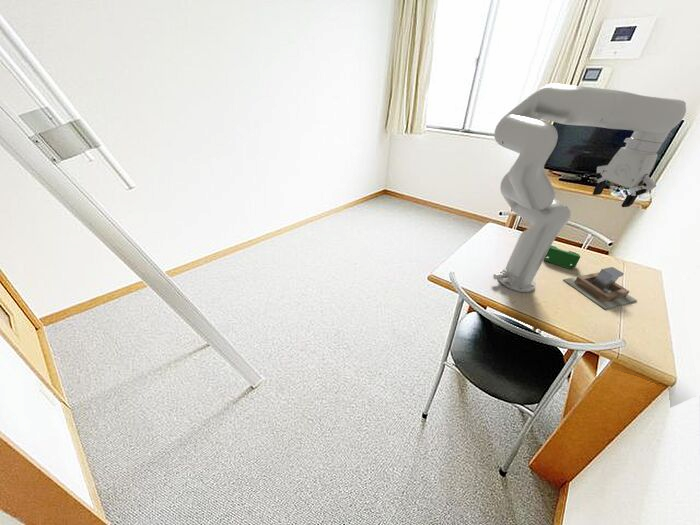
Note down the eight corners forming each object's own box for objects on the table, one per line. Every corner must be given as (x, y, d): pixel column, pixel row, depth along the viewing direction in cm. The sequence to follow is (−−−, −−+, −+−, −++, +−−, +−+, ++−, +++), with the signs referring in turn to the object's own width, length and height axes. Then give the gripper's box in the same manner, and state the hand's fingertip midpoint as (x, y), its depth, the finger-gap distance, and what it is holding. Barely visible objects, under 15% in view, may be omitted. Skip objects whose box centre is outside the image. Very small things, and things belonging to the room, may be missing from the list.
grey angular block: (600, 293, 106) (613, 275, 101) (589, 286, 109) (601, 269, 104) (610, 291, 108) (624, 273, 103) (600, 284, 111) (612, 266, 106)
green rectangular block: (562, 271, 125) (582, 256, 120) (563, 275, 120) (584, 260, 115) (538, 252, 128) (556, 236, 123) (538, 255, 123) (557, 239, 118)
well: (604, 309, 100) (609, 302, 98) (562, 280, 112) (566, 273, 110) (636, 301, 105) (641, 294, 103) (593, 274, 117) (597, 267, 115)
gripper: (605, 138, 94) (578, 191, 104) (667, 154, 81) (629, 212, 91) (621, 138, 96) (593, 189, 106) (684, 154, 83) (645, 210, 93)
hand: (610, 200), depth 98 cm, fingers open, 9 cm apart
